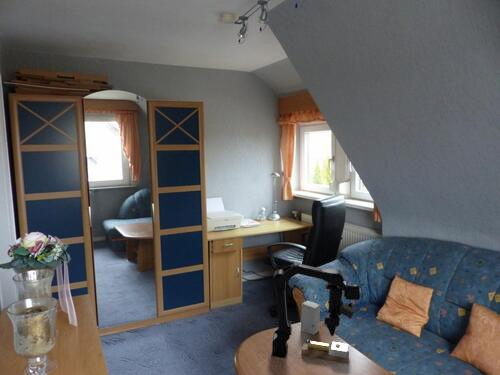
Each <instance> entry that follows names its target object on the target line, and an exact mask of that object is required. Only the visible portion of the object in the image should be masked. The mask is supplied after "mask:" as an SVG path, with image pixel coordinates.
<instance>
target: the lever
mask: <svg viewBox="0 0 500 375" xmlns="http://www.w3.org/2000/svg"><path fill="white" fill-rule="evenodd" d="M304 342H305V344H308V348H314V349H320V350H325V351H328V350H329V344H326V343H327V342H324V343H321V341H320V342H318V341H313V340H311V339H310V338H306V339H304Z"/></svg>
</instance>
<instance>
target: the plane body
mask: <svg viewBox="0 0 500 375" xmlns="http://www.w3.org/2000/svg"><path fill="white" fill-rule="evenodd" d="M300 353H301V356H303V357H309V358H315V359H320V360H324V361H331V362H336V363H341V364H346V365H349V359H350V350H348V355H347V358H344V357H338V356H333V355H331V348H329V350H328V351H325V350H320V349H314V348H308V343H306V342H305V343H303V344H302V347H301V352H300Z"/></svg>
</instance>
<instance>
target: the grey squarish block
mask: <svg viewBox="0 0 500 375" xmlns="http://www.w3.org/2000/svg"><path fill="white" fill-rule="evenodd" d="M331 344H332V347H331V355H333V356H338V357H344V358H347V355H348V351H349V344H348V343H342V342H336V341H332V343H331Z"/></svg>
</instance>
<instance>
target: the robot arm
mask: <svg viewBox="0 0 500 375" xmlns="http://www.w3.org/2000/svg"><path fill="white" fill-rule="evenodd" d="M295 275H301V276H306V277H311V278H315V279H319V280H322V281H324V282H326V284H325V285H324V286H325V287H324V288H325V290H329V291H328V294H329V295H328V301H327V304H328V308H327V314H326V315H325V317H324V324H325V325H326V327H327V329H328V332H329V334H330V336H331V337H334V336H335V332H336V328H337V327H339V326H340V323H341V318H340V316H342V315H344V316H345V317H348V318H349V319H352V318H353V316H354V314H355V307H354V306H353V302H350V301H358V302H359V301H360V300H361V294H360V293H361V292H360V285H359V284H349V283H347V282H346V280H345V279H344V276H343V272H342V271H341V270H339V269H338V268H327V269H326V268H325V269H323V268H318V267H314V266H310V265H306V264H303V263H302V264H301V263H298V262H293V263H291V264H290V265H288V266H284V267H283V268H281V269H277V270H275V271H274V275H273V278H272V281H273V286H274V288H275V291H276V297H277V299H276V300H277V311H278V326H277V329H276V330H275V331H274V332H273V336H272V342H271V343H272V344H271V345H272V347H271V349H272V350H271V354H270V356H272V357H278V358H281V359H282V358H283V359H285V358H286V356H287V355H288V352H289V344H288V341H289V339H290V338H291V336H292V334H293V333H292V332H293V331H292V330H293V328H292V320H289V319H288V313H287V311H288V310H287V299H286V298H287V296H286V284H287V281H289V280H290V279H291V278H292V277H293V276H295ZM343 298H345V300H348V301H349V302H348V303H344V300H343Z"/></svg>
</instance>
